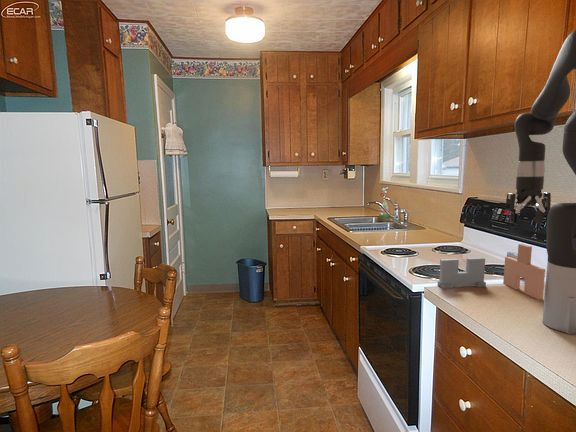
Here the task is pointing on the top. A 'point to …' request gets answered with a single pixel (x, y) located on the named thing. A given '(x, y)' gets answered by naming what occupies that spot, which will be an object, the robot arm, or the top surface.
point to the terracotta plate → (524, 273)
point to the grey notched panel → (462, 273)
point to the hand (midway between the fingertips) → (526, 223)
